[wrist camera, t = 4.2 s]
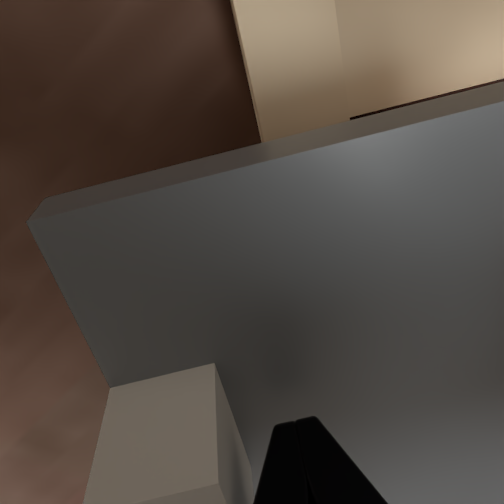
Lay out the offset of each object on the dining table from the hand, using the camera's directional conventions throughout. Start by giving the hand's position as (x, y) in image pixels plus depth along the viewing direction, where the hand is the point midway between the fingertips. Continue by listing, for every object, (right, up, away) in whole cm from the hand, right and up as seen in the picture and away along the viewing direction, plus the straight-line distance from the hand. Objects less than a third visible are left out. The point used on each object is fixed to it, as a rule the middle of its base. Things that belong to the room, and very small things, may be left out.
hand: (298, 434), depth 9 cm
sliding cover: (+2, +1, +3) cm, 4 cm away
